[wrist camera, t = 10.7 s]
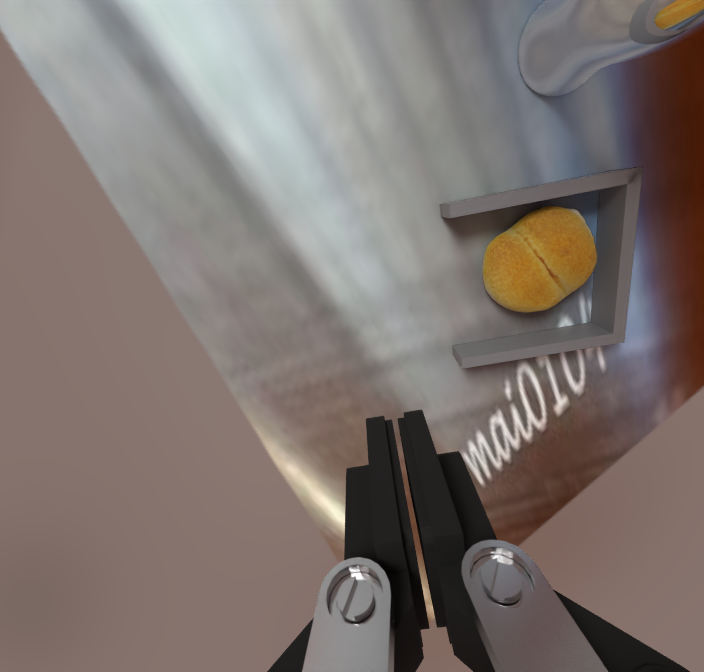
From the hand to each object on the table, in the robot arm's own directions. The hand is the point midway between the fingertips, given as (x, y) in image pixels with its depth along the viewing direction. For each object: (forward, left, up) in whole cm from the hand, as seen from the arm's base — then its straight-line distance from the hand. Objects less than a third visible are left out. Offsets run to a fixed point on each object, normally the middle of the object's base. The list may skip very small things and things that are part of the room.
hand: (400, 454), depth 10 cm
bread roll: (0, +15, -23) cm, 27 cm away
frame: (+1, +14, -22) cm, 26 cm away
